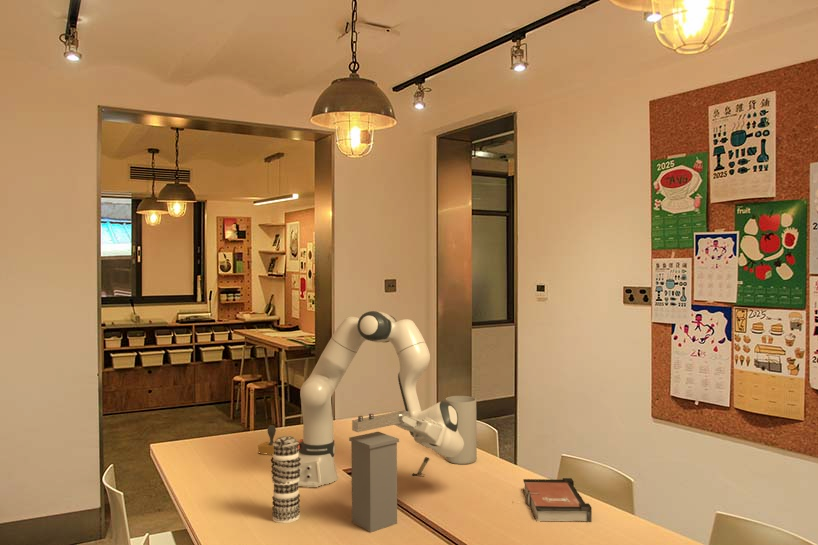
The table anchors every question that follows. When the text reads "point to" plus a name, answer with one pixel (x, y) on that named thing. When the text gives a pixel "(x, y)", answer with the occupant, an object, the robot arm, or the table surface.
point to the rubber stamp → (268, 446)
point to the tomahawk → (421, 467)
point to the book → (556, 501)
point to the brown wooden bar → (378, 421)
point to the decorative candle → (285, 480)
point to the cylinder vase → (465, 428)
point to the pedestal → (374, 480)
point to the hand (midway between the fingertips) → (397, 416)
